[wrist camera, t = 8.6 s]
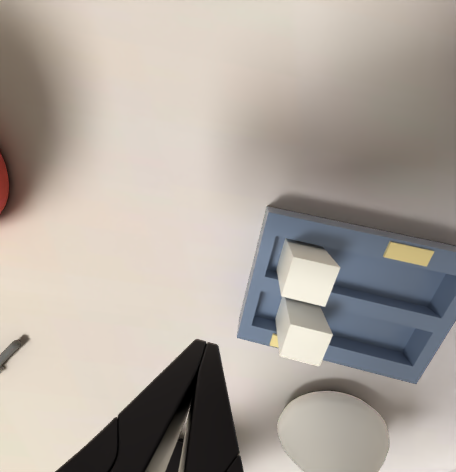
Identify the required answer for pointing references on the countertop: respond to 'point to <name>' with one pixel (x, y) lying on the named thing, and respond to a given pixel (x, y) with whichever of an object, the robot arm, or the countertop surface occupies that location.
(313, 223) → the switch panel
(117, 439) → the robot arm
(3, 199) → the citrus juicer
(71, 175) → the countertop surface
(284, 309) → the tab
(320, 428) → the flower in vase
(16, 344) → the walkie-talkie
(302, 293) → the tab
